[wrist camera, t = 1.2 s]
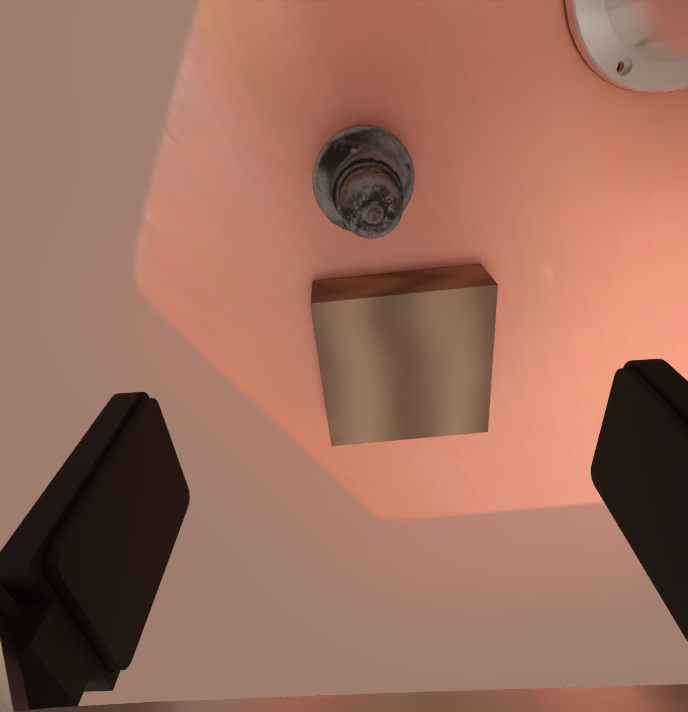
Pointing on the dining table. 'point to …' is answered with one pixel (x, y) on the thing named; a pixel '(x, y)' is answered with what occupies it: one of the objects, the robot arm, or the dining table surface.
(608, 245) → the dining table surface
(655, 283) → the dining table surface
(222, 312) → the dining table surface
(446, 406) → the brown flat wooden block
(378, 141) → the salt shaker
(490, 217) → the dining table surface
